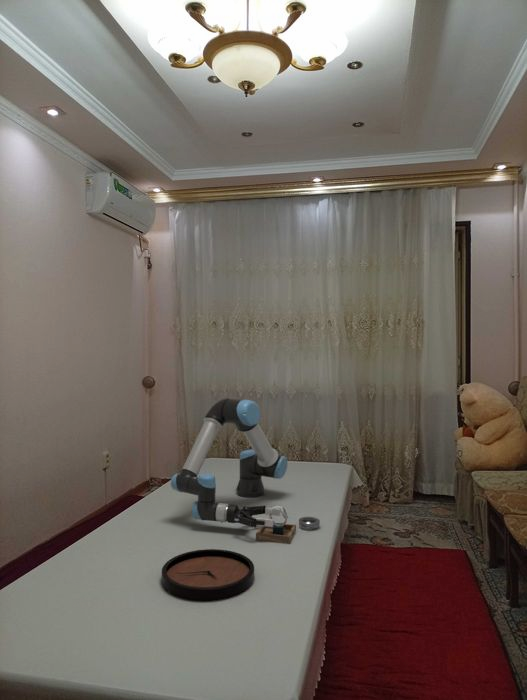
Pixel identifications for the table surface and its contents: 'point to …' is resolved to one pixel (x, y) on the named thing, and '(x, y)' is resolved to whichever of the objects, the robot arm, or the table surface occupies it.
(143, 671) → the table surface
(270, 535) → the rect wooden tray
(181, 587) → the wall clock
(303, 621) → the table surface
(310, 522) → the round socket
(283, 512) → the watch
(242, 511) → the robot arm
